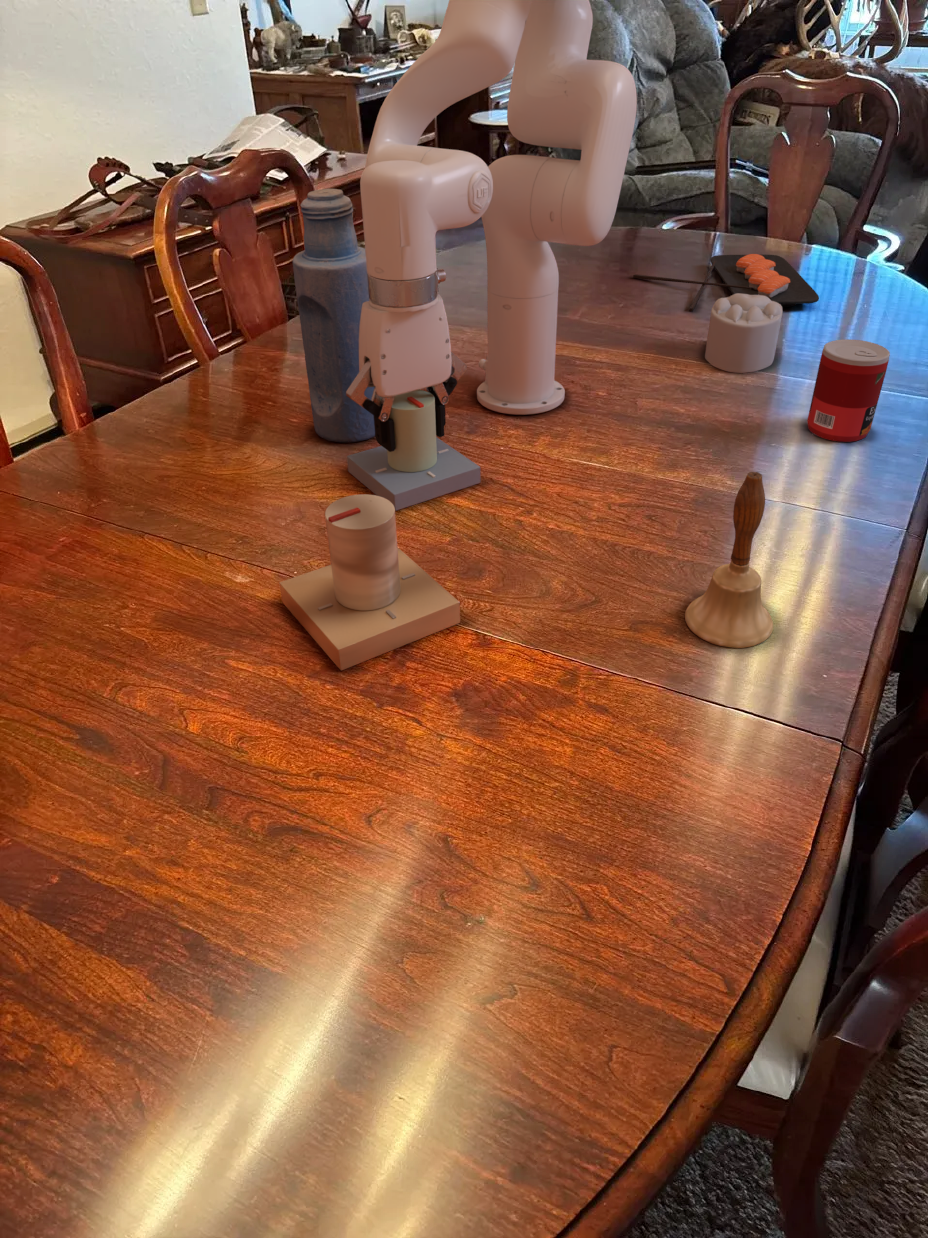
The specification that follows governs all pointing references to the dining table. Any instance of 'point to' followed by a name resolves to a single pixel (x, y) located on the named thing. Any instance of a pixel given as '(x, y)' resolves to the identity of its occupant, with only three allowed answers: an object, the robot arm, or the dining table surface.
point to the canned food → (847, 389)
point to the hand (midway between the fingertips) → (411, 438)
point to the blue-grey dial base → (413, 475)
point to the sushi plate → (756, 279)
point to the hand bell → (735, 582)
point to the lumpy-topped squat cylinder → (743, 333)
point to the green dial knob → (413, 432)
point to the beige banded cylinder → (363, 551)
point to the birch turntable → (369, 614)
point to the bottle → (332, 314)
